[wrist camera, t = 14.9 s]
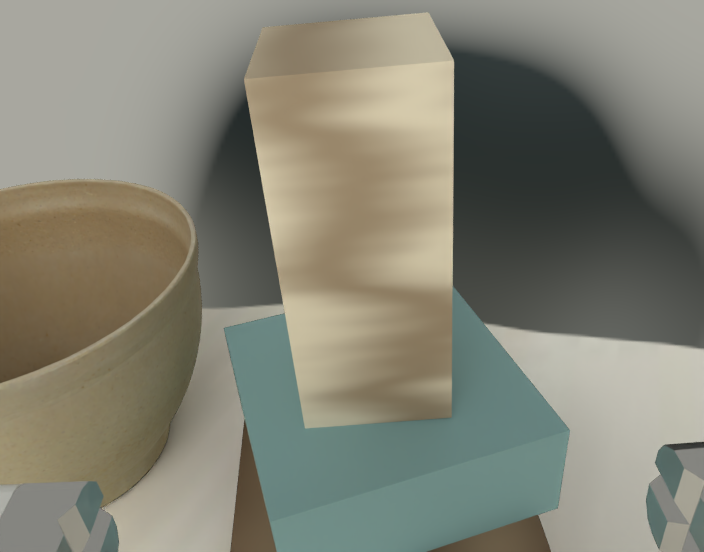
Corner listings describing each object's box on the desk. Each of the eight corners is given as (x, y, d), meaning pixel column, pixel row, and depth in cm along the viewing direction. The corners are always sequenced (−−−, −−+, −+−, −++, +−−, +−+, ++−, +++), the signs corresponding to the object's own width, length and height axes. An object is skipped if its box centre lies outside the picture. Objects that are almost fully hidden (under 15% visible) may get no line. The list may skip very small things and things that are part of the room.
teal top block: (443, 344, 32) (444, 275, 30) (557, 508, 24) (569, 430, 21) (239, 397, 30) (223, 328, 27) (287, 598, 22) (270, 521, 19)
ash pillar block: (432, 325, 26) (428, 12, 20) (451, 417, 22) (453, 60, 15) (309, 335, 26) (262, 27, 20) (305, 428, 22) (244, 79, 16)
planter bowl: (-177, 650, 25) (-372, 452, 19) (-46, 372, 38) (-135, 205, 32) (248, 557, 27) (193, 351, 21) (231, 324, 40) (195, 158, 34)
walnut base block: (476, 409, 33) (479, 348, 31) (542, 620, 24) (552, 555, 22) (262, 429, 33) (249, 370, 31) (245, 650, 24) (226, 587, 22)
